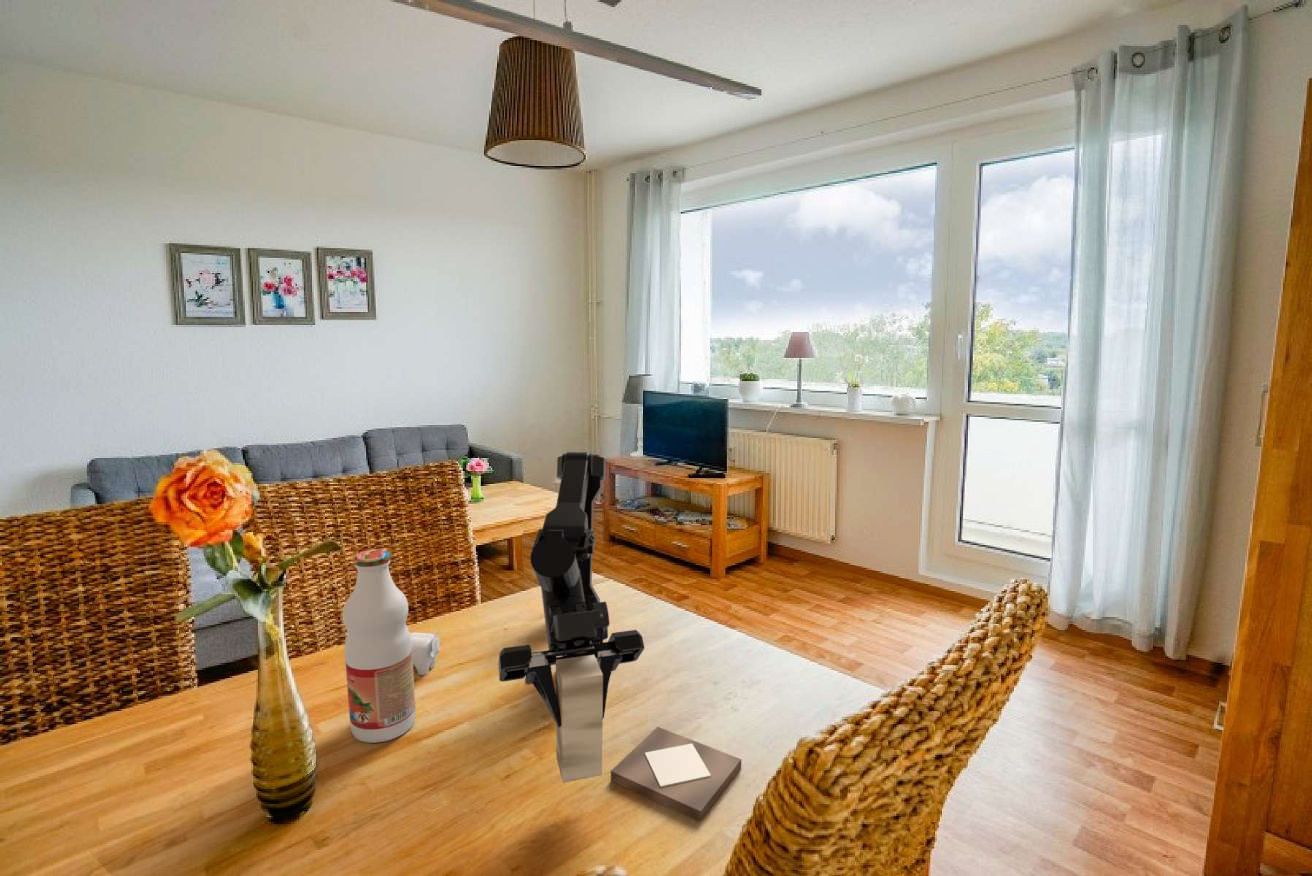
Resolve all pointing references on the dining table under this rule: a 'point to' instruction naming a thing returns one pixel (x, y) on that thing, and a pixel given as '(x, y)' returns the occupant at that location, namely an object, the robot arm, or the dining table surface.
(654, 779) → the walnut base board
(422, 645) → the elephant figurine
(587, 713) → the birch pillar block
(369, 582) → the fruit juice
